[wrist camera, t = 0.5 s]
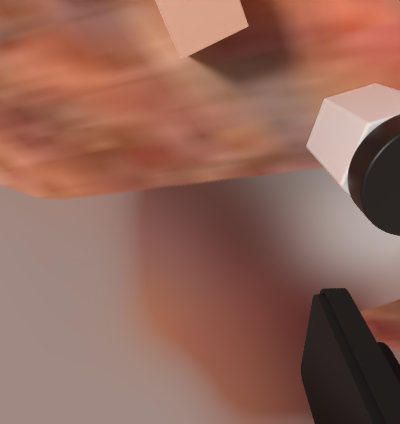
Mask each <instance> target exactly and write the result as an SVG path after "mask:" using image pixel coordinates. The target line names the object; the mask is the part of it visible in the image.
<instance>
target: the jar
mask: <svg viewBox="0 0 400 424" xmlns="http://www.w3.org/2000/svg"><path fill="white" fill-rule="evenodd" d="M306 147H307V149H308V150H309V151H310V152H311V153H312V154H313V156H314V157H315V158H316V159H317V160H318V161H319V162H320V164H321V165H322V166H323V167H324V168H325V169H326V170H327V171H328V173H329V174H330V175H331V176H332V177H333V178H334V180H335V181H336V182H337V183H338V184H339V185H340V186H341V187H342V188H343V189H344V190H345V191H346V193H347V194H348V195H349V196H350V197H351V198H352V199H353V201H354V203H355V204H356V205H357V206H358V208H359V209H360V210H361V211H362V212H363V213H364V214H365V216H366V217H367V218H368V219H369V220H370V221H371V222H372V223H373V224H374V225H375V226H376V227H378V228H379V229H381V230H383V231H385V232H387V233H390V234H393V235H398V236H400V91H399V90H396V89H393V88H390V87H387V86H384V85H381V84H378V83H374V84H371V85H368V86H364V87H361V88H358V89H354V90H351V91H348V92H344V93H341V94H338V95H334V96H331V97H328V98H325V99H324V101H323V103H322V106H321V108H320V111H319V114H318V116H317V119H316V122H315V124H314V127H313V129H312V132H311V135H310V137H309V140H308V143H307V145H306Z"/></svg>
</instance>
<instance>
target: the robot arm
mask: <svg viewBox="0 0 400 424" xmlns="http://www.w3.org/2000/svg"><path fill="white" fill-rule="evenodd" d="M301 376H302V381H303V385H304V388H305V391H306V395H307V398H308V402H309V405H310V409H311V412H312V416H313V419H314V422H315V424H400V365H399V363H398V361H397V359H396V358H395V357H394V354H393V353H392V351H391V350H390V348H389V347H388V346H387V345H386V344H385V343H383V342H376V340H375V338H374V336H373V335H372V333H371V331H370V329H369V327H368V326H367V324H366V322H365V320H364V318H363V317H362V315H361V313H360V311H359V310H358V308H357V306H356V304H355V303H354V301H353V299H352V297H351V295H350V294H349V292H348V291H347V290H346V289H345V288H337V289H336V288H334V289H333V288H332V289H322V290H321V291H320V294H319V295H314V296H313V300H312V306H311V311H310V318H309V323H308V329H307V335H306V341H305V346H304V352H303V358H302V364H301Z"/></svg>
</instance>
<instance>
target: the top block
mask: <svg viewBox="0 0 400 424" xmlns="http://www.w3.org/2000/svg"><path fill="white" fill-rule="evenodd" d="M155 2H156V4H157V6H158V8H159V11H160V13H161V15H162V18H163V20H164V22H165V24H166V27H167V29H168V31H169V34H170V36H171V38H172V41H173V43H174V45H175V47H176V50H177V52H178V54H179V57H180V59H183V58H185V57H187V56H189V55H191V54H193V53H195V52H197V51H199V50H201V49H203V48H205V47H208V46H210V45H212V44H214V43H216V42H218V41H220V40H222V39H224V38H226V37H228V36H230V35H232V34H234V33H236V32H238V31H240V30H242V29H244V28H246V27H248V23H247V20H246V17H245V14H244V11H243V8H242V5H241V3H240V0H155Z"/></svg>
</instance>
